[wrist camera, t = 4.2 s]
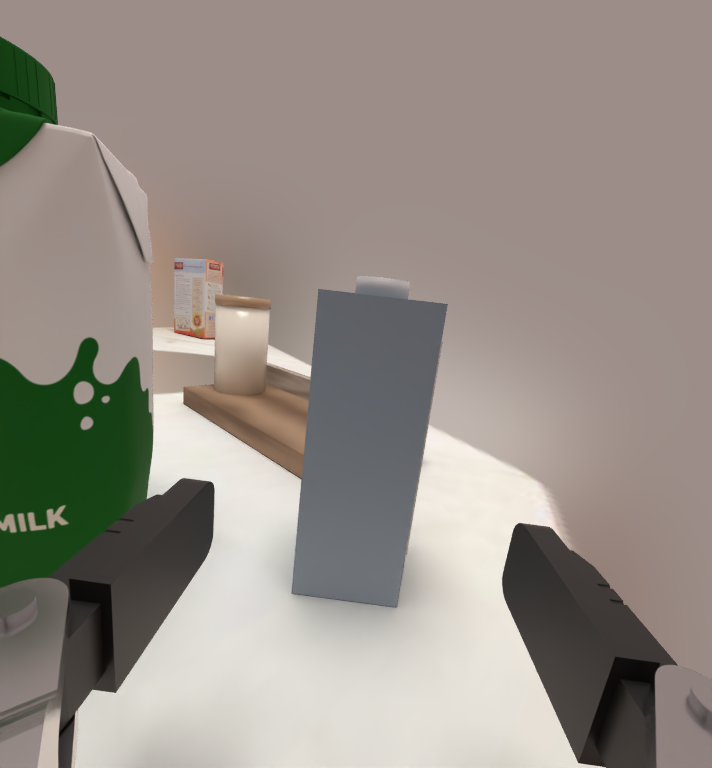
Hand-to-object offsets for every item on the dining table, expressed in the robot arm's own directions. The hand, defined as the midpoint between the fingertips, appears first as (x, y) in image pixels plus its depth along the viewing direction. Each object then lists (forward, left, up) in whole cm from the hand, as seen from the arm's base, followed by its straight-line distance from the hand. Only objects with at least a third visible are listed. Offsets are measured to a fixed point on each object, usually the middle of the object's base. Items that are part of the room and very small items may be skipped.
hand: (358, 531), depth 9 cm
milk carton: (-7, +14, -8) cm, 18 cm away
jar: (+10, +35, -6) cm, 37 cm away
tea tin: (+5, +6, -8) cm, 11 cm away
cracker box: (+21, +101, -8) cm, 104 cm away
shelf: (+11, +25, -8) cm, 29 cm away
